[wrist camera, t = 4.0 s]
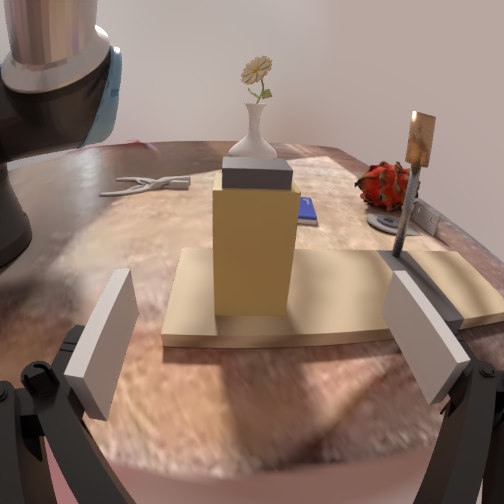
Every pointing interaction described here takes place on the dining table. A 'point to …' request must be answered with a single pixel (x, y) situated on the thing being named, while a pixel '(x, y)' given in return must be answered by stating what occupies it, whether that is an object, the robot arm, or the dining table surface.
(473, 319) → the plank
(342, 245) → the dining table surface
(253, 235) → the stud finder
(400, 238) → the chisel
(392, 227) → the bracket
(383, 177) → the dragon fruit
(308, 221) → the hard drive
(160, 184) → the pliers
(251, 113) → the flower in vase
